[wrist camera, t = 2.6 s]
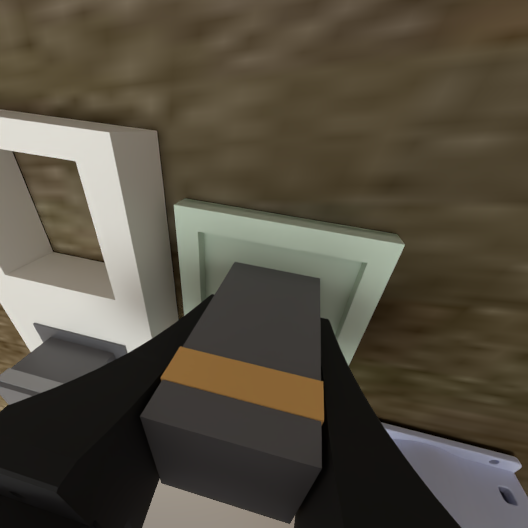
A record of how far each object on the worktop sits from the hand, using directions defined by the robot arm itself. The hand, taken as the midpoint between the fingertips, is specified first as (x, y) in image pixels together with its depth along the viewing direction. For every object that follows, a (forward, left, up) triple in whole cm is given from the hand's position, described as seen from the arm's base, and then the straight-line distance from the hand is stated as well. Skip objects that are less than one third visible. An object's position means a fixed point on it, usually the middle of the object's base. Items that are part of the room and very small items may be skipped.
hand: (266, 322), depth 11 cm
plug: (0, 0, -1) cm, 1 cm away
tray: (0, 0, -2) cm, 2 cm away
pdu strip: (+10, +2, -2) cm, 10 cm away
